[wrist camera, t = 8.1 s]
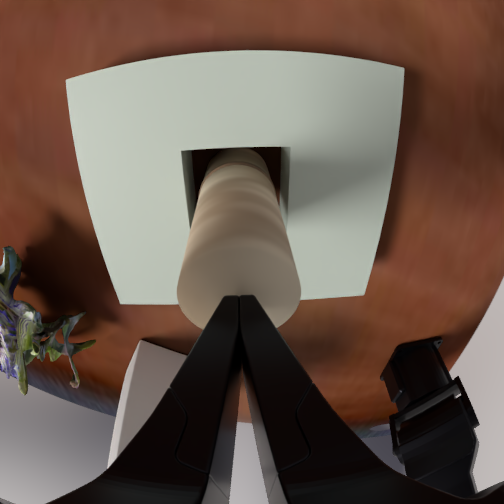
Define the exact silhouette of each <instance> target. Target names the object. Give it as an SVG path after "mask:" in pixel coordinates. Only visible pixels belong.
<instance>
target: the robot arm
mask: <svg viewBox="0 0 504 504" xmlns="http://www.w3.org/2000/svg"><path fill="white" fill-rule="evenodd" d="M442 342H443V340H442V338H441V337H439V338H434V339H430V340H425V341H421V342H416V343H411V344H406V345H401V346H398V347H397V348H396V349H395V351H394V353H393V354H392V356H391V358H390V360H389V362H388V363H387V365H386V367H385V369H384V370H383V372H382V374H381V376H380V379H381V381H383V380H384V381H385V384H386V387H387V390H388V393H389V396H390V399H391V401H392V402H393V403H395V402H396V405H397V408H398V411H399V412H398V413H396V414H392V415H390V416H389V419H390V421H389V424H390V430H391V436H392V443H393V455H394V456H396V457H398V459H399V461H400V463H401V464H403V465H405V471H406V475H407V476H405V475H403V474H401V473H398V472H397V471H395V470H393V469H392V468H390V467H389V466H388V465H386V464H385V463H384V462H383V461H382V460H380V459H379V458H378V457H377V456H376V455H375V454H374V453H373V452H372V451H371V450H370V449H369V448H368V446H366V444H365V443H364V442H362V440H361V439H360V438H359V437H358V436H357V435H356V434H355V433H354V432H353V431H352V430H351V429H350V428H349V427H348V426H347V425H346V423H345V422H344V421H343V420H342V419H341V418H340V417H339V415H338V414H337V413H336V412H335V411H334V410H333V409H332V407H331V406H330V405H329V403H328V402H327V401H326V399H325V398H324V397H323V395H322V394H321V392H320V391H319V390H318V388H317V387H316V385H315V384H314V383H312V382H313V381H312V380H311V378H310V377H309V375H308V374H307V372H306V371H305V369H304V368H303V367H302V365H301V364H300V362H299V361H298V359H297V358H296V356H295V355H294V353H293V352H292V350H291V349H290V347H289V346H288V344H287V343H286V342H285V340H284V339H283V337H282V336H281V334H280V333H279V331H278V330H277V328H276V327H275V325H274V324H273V322H272V321H271V319H270V318H269V316H268V315H267V313H266V312H265V310H264V309H263V307H262V306H261V304H260V303H259V301H258V300H257V298H256V297H255V296H254V295H252V294H250V295H240V296H238V295H225V296H224V297H223V298H222V299H221V301H220V303H219V304H218V306H217V308H216V309H215V311H214V313H213V314H212V316H211V318H210V319H209V321H208V323H207V324H206V326H205V328H204V329H203V331H202V333H201V334H200V336H199V338H198V339H197V341H196V342H195V344H194V346H193V347H192V349H191V351H190V352H189V354H188V356H187V357H186V359H185V361H184V362H183V364H182V366H181V367H180V369H179V371H178V372H177V374H176V376H175V377H174V379H173V381H172V382H171V384H170V388H168V389H167V390H166V392H165V394H164V395H163V397H162V399H161V400H160V402H159V403H158V405H157V406H156V408H155V409H154V411H153V412H152V414H151V415H150V417H149V418H148V419H147V421H146V422H145V423H144V425H143V426H142V427H141V429H140V430H139V431H138V432H137V434H136V435H135V436H134V437H133V439H132V440H131V441H130V442H129V443H128V445H127V446H126V447H125V448H124V450H123V451H122V452H121V453H120V454H119V456H118V457H117V458H116V459H115V461H114V462H113V463H112V464H111V465H110V466H109V467H108V469H107V470H106V471H105V472H103V474H101V475H100V476H99V477H97V478H96V479H95V480H93V481H92V482H89V483H88V484H86V485H84V486H82V487H80V488H78V489H76V490H74V491H72V492H70V493H68V494H66V495H64V496H61V497H60V498H57V499H55V500H53V501H51V502H48V503H46V504H229V497H230V487H231V477H232V467H233V457H234V446H235V436H236V426H237V416H238V406H239V395H240V385H241V374H242V369H243V376H244V382H245V387H246V393H247V398H248V403H249V409H250V414H251V419H252V424H253V429H254V434H255V439H256V444H257V449H258V454H259V458H260V464H261V469H262V473H263V478H264V483H265V487H266V492H267V497H268V501H269V504H504V481H503V482H500V483H498V484H496V485H493V486H491V487H489V488H487V489H485V490H482V491H480V492H478V491H477V487H476V484H475V480H474V477H473V473H472V472H473V468H474V464H475V460H476V456H477V452H478V447H479V441H478V439H477V436H476V433H475V430H474V428H476V427H477V426H479V425H480V424H479V422H478V419H477V417H476V414H475V412H474V409H473V407H472V405H471V402H470V400H469V398H468V396H467V393H466V391H465V389H464V387H463V385H462V382H461V380H460V378H459V376H457V377H456V378H455V379H454V380H452V378H451V376H450V374H449V372H448V370H447V367H446V365H445V363H444V361H443V359H442V357H441V355H440V353H439V351H438V348H439V347H440V345H441V343H442ZM460 393H461V396H459V397H458V398H456V397H455V396H457V395H458V394H460ZM0 504H14V503H11V502H9V501H6V500H4V499H1V498H0Z"/></svg>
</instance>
